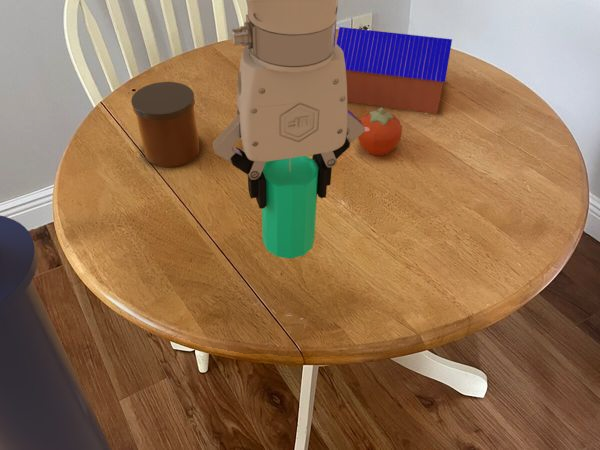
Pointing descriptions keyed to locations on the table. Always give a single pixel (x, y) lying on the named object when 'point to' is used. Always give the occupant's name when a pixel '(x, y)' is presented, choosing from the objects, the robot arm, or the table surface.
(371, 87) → the house
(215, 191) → the table surface
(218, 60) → the table surface
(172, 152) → the jar
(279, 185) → the candle
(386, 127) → the tomato
